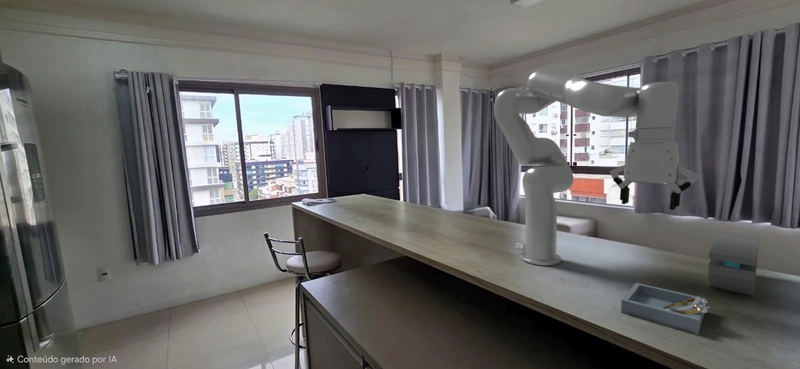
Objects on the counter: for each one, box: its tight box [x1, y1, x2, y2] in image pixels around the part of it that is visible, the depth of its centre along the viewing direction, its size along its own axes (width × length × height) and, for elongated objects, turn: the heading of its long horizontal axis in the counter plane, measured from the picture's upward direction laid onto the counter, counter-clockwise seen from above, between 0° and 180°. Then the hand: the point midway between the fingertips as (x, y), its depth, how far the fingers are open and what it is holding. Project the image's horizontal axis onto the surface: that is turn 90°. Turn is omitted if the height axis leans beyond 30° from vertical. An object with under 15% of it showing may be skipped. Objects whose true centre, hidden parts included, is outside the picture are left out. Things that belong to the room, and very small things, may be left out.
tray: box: [620, 282, 707, 336], centre depth 74 cm, size 13×13×3 cm
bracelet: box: [663, 295, 711, 314], centre depth 70 cm, size 7×3×8 cm
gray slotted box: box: [707, 232, 760, 297], centre depth 86 cm, size 25×8×11 cm, turn 132°
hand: (647, 206), depth 81 cm, fingers open, 9 cm apart
